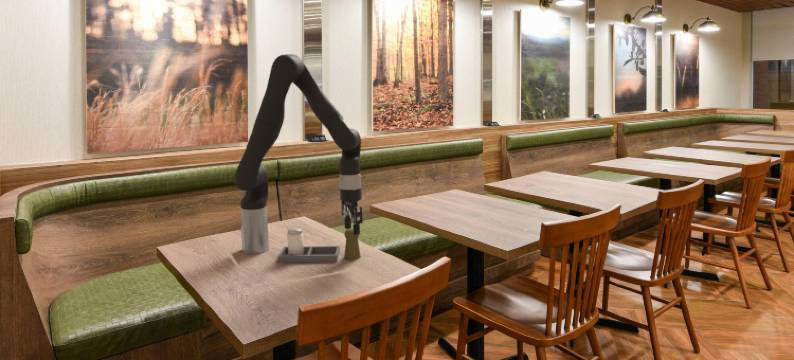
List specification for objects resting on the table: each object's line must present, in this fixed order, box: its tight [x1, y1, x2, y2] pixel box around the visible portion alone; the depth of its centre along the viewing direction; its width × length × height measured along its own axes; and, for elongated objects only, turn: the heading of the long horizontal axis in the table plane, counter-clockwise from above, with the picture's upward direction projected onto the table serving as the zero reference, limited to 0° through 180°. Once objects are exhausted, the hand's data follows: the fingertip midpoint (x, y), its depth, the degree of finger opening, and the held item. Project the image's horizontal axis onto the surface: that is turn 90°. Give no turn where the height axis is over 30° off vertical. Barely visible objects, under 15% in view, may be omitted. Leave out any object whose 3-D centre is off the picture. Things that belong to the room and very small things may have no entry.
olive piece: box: [343, 228, 362, 261], centre depth 194 cm, size 6×6×11 cm
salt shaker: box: [286, 227, 305, 255], centre depth 194 cm, size 6×6×10 cm
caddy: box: [277, 245, 341, 263], centre depth 195 cm, size 20×11×3 cm, turn 91°
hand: (352, 231), depth 193 cm, fingers open, 8 cm apart
